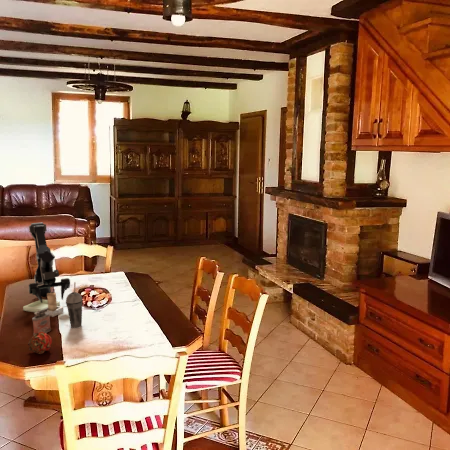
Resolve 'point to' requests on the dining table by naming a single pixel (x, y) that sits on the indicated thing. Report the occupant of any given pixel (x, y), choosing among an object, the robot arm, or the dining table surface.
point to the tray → (37, 306)
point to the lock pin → (52, 301)
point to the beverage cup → (74, 308)
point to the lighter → (41, 321)
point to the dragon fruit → (40, 343)
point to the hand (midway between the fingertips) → (52, 301)
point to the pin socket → (55, 311)
